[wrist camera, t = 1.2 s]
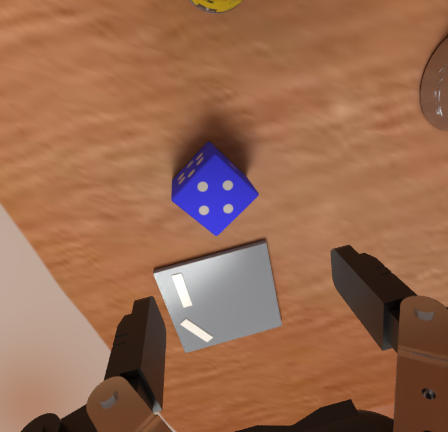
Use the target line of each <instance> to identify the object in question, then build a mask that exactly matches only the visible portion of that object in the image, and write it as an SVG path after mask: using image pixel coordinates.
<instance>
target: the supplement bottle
mask: <svg viewBox="0 0 448 432" xmlns="http://www.w3.org/2000/svg"><path fill="white" fill-rule="evenodd" d="M189 1H190V2H191V3H192V4H193V5H194V6H196V7H197V8H199V9H200V10H202V11H205V12H208V13H214V14H219V13H224V12H227V11H229V10H231V9H233V8H235V7H236V6H237V5H238V4H240V3H241V1H242V0H189Z"/></svg>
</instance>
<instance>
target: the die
mask: <svg viewBox="0 0 448 432" xmlns="http://www.w3.org/2000/svg"><path fill="white" fill-rule="evenodd" d="M257 197H258V192H257V191H256V189H255V188H254V186H253V185H252V184H251V182H250V181H249V180H248V178H247V177H246V176H245V175H244V174H243V173H242V172H241V171H240V170H239V169H238V168H237V167H236V166H235V165H234V164H233V163H232V162H231V161H230V160H229V159H228V158H226V157H225V156H224V155H223V154H222V153H221V152H220V151H219V150H218V149H217V148H216V147H215V146H214V145H213V144H212V143H211V142H207V143H206V144H205V145H204V146H203V147H202V148H201V149H200V151H199V152H198V153H197V154H196V155H195V156H194V157H193V158H192V159H191V160H190V161H189V162H188V164H187V165H186V166H185V167H184V168H183V169H182V170H181V171H180V172H179V173H178V174H177V175H176V177H175V178H174V179H173V180H172V201H173V202H174V203H175V204H176V205H178V206H179V207H180V208H181V209H183V210H184V211H185V212H186V213H188V214H189V215H190V216H191V217H193V218H194V219H195V220H196V221H198V222H199V223H200V224H201V225H203V226H204V227H205V228H206V229H208V230H209V231H210V232H211V233H213V234H214V235H215V236H217V235H219V234H220V233H221V232H222V231H223V230H224V229H225V228H226V227H227V226H228V225H229V224H230V223H231V222H232V221H233V220H234V219H235V218H236V217H237V216H238V215H239V214H240V213H241V212H242V211H243V210H244V209H245V208H246V207H247V206H248V205H249V204H250V203H251V202H252V201H254V200H255V199H256V198H257Z"/></svg>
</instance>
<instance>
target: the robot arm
mask: <svg viewBox="0 0 448 432" xmlns="http://www.w3.org/2000/svg"><path fill="white" fill-rule="evenodd" d="M420 99H421V106H422V110H423V113H424V115H425V117H426V118H427V120H428V121H429V122H430V123H431V124H432V125H433V126H435V127H436V128H438V129H440V130H445V131H448V37H447V38H446V39H445V40H444V41H443V42H442V43H441V44H440V46H439V47H438V48H437V50H436V51H435V53H434V54H433V55H432V57H431V59H430V61H429V63H428V65H427V67H426V70H425V73H424V76H423V79H422V84H421V90H420ZM331 265H332V278H333V282H334V285H335V287H336V289H337V291H338V292H339V294H340V295H341V296H342V298H343V299H344V300H345V302H346V303H347V304H348V306H349V307H350V308H351V310H352V311H353V312H354V314H355V315H356V316H357V318H358V319H359V320H360V321H361V323H362V324H363V325H364V327H365V328H366V329H367V331H368V332H369V333H370V335H371V336H372V337H373V339H374V340H375V341H376V343H377V344H378V345H379V347H380V348H381V349H382V351H383V350H387V349H391V348H393V349H394V350H395V351H396V352H397V367H396V385H395V402H394V419H391V418H389V417H387V416H384V415H381V414H379V413H375V412H372V411H366V410H356V408H355V406H354V404H353V402H352V401H351V399H350V400H346V401H342V402H339V403H335V404H332V405H328V406H325V407H321V408H319V409H318V410H316V411H314V412H313V413H311V414H310V415H308V416H307V417H305V418H303V419H302V420H300V421H299V422H297V423H296V424H294V425H291V426H268V425H257V426H253V427H250V428H246V429H243V430H239V431H235V432H448V307H445V306H444V305H443V304H442V303H440V302H439V301H437V300H435V299H432V298H429V297H425V296H418V295H417V294H415V293H414V292H413V291H412V290H411V289H410V288H409V287H408V286H407V285H405V284H404V283H403V282H402V281H401V280H400V279H399V278H398V277H397V276H395V275H394V274H393V273H391V271H390V270H389V269H388V268H387V267H385V266H384V265H383V264H382V263H381V262H380V261H379V260H378V259H377V258H375V257H373V256H370V255H368V254H366V253H361V254H359V253H358V252H356V251H355V250H354V249H353V248H352V247H351V246H350V245H346V246H342V247H338V248H334V249H332V250H331ZM165 350H166V328H165V324H164V321H163V318H162V316H161V314H160V311H159V309H158V306H157V304H156V301H155V299H154V297H153V296H150V297H146V298H142V299H139V300H135V301H134V305H133V309H132V314H129V315H125V316H124V317H123V319H122V320H121V322H120V323H119V325H118V327H117V331H116V334H115V339H114V342H113V347H112V350H111V354H110V358H109V362H108V366H107V370H106V374H105V378H104V381H103V382H102V383H100V384H99V385H98V386H97V387H96V388H95V389H94V390H93V391H92V393H91V395H90V396H89V398H88V401H87V404H86V405H84V406H83V407H81V408H79V409H78V410H76V411H74V412H72V413H71V414H69V415H67V416H65V417H64V418H62V419H60V418H59V417H58V416H57V415H56V414H52V413H47V414H43V415H41V416H39V417H37V418H35V419H34V420H33V421H31V422H30V423H29V424H28V425H26V426H25V427H24V428H23V430H22V431H21V432H172V431H171V429H170V428H169V427H168V426H167V425H166V423H165V422H164V421H163V420H162V419H161V418H160V416H159V415H155V414H154V413H155V412H158V411H162V406H163V387H164V369H165Z"/></svg>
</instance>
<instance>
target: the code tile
mask: <svg viewBox="0 0 448 432" xmlns="http://www.w3.org/2000/svg"><path fill="white" fill-rule="evenodd" d="M153 274H154V277H155V279H156V282H157V284H158V287H159V289H160V291H161V294H162V296H163V299H164V301H165V304H166V306H167V309H168V311H169V314H170V316H171V319H172V321H173V323H174V326H175V328H176V331H177V333H178V336H179V338H180V341H181V343H182V346H183V348H184V350H185V353H187V352H191V351H194V350H198V349H202V348H205V347H209V346H212V345H216V344H219V343H223V342H226V341H230V340H233V339H237V338H240V337H244V336H247V335H251V334H255V333H258V332H262V331H265V330H269V329H272V328H276V327H279V326H282V324H281V319H280V313H279V308H278V303H277V297H276V292H275V287H274V281H273V276H272V271H271V265H270V260H269V255H268V249H267V244H266V241H265V240H263V241H259V242H256V243H252V244H248V245H245V246H241V247H237V248H234V249H230V250H226V251H223V252H219V253H215V254H212V255H208V256H204V257H201V258H197V259H193V260H189V261H186V262H182V263H178V264H175V265H171V266H167V267H164V268H160V269H156V270H154V271H153Z"/></svg>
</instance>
